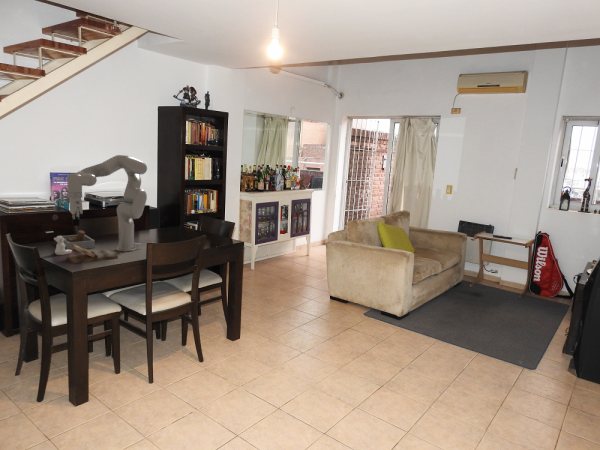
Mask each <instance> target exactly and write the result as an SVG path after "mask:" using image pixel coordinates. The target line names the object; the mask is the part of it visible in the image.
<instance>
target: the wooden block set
mask: <svg viewBox="0 0 600 450" xmlns="http://www.w3.org/2000/svg"><path fill="white" fill-rule="evenodd" d="M85 233H86V232H85V231H84V230H81V229H79V230H78V232H77V234H76V235H77V238H74V237H72V238H67V241H69V242H81V241H82V240H83V237H84V234H85ZM85 235H86V234H85Z"/></svg>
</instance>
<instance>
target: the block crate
mask: <svg viewBox="0 0 600 450" xmlns="http://www.w3.org/2000/svg"><path fill="white" fill-rule="evenodd" d="M61 236H62V237H63V239H64V241H63V243H64V244H65V245H66V246H65V250H68V249H69V250H72V251H77V250H76V249H74V248H73V247H72V246H71V245H72V244H74V245H76V246H79V247H81V248H84V249H86V250H89V249H94V248H96V242H95V239H93V238H91V237H89V236H88V235H86V234H84V237H83V240H82V241H81V242H69V241H67V238H72V237H74V238H77V234H71V235H69V234H68V235H61Z"/></svg>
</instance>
